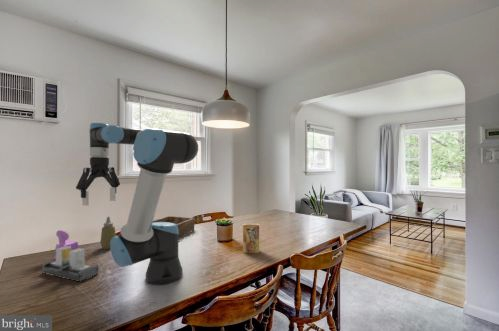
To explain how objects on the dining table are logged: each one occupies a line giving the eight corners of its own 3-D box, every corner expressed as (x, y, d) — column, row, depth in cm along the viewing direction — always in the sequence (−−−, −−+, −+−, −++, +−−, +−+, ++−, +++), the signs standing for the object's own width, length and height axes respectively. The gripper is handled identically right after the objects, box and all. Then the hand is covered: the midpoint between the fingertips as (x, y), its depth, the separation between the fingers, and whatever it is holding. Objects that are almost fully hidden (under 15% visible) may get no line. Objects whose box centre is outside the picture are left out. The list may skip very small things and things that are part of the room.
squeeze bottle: (114, 244, 145) (114, 214, 145) (118, 247, 139) (118, 216, 139) (98, 247, 139) (98, 216, 139) (102, 251, 133) (102, 219, 133)
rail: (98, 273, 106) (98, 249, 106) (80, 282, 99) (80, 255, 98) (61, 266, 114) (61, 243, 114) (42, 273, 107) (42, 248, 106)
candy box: (258, 250, 135) (258, 223, 135) (259, 253, 131) (259, 225, 131) (243, 250, 135) (243, 223, 135) (243, 253, 131) (243, 225, 131)
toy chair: (80, 255, 128) (80, 227, 127) (63, 261, 119) (63, 231, 119) (69, 253, 130) (68, 226, 130) (51, 259, 122) (51, 230, 122)
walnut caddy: (194, 230, 175) (194, 218, 175) (165, 244, 145) (165, 229, 145) (168, 227, 182) (168, 215, 182) (136, 240, 153) (136, 226, 153)
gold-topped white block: (91, 270, 105) (91, 250, 105) (82, 274, 101) (82, 253, 101) (77, 268, 108) (77, 248, 107) (68, 271, 104) (68, 251, 104)
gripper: (78, 156, 98) (78, 208, 98) (127, 157, 121) (127, 199, 121) (65, 156, 100) (65, 206, 100) (116, 157, 124) (116, 198, 124)
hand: (99, 202), depth 111 cm, fingers open, 13 cm apart
